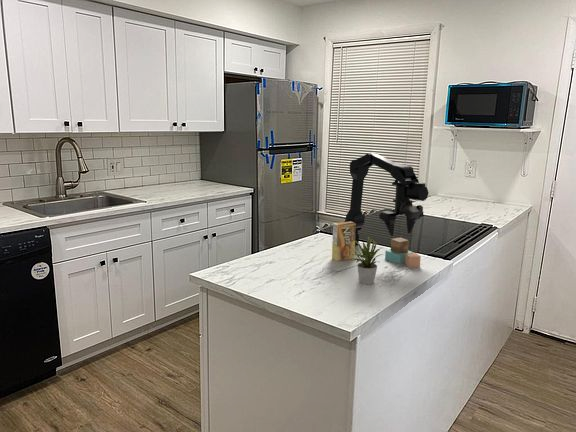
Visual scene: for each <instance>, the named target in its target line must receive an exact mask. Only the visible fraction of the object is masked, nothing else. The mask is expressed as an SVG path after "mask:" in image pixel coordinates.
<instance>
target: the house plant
mask: <svg viewBox="0 0 576 432" xmlns="http://www.w3.org/2000/svg"><path fill="white" fill-rule="evenodd" d="M352 240H353V239H352ZM354 241H355V240H354ZM355 242H356V243H357V244H358V245H355V247H354V248H355V250H357V251H358V253H357V252H356V251H355V252H354V251H353V252H354V254H352V255H354V256H356V257H354V258H353V259H352V262H354V261H356V264H357V273H358V281H359V283H360V284H363V285H372V284H375V278H376V274H377V269H378V265H377V264H376V263H380V261H379V260H378V261H376V260H377V259H376V258H377V257H380V256H384V253H382V254H377V253H378V251H380V249H382V248H383V246H381V247H380V248H377V242H375V240H373V238H371V239H370V236H368V237H367V241H366V244H365V242H364V241H363V242H362V246H361V244H360V242H359V243H358V242H357V241H355ZM371 244H372V245H371ZM352 246H353V245H352ZM357 246H358V247H357ZM376 248H377V249H376ZM375 249H376V250H375ZM376 254H377V255H376ZM352 255H351V256H352ZM352 257H353V256H352Z"/></svg>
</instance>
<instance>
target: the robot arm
mask: <svg viewBox="0 0 576 432" xmlns="http://www.w3.org/2000/svg"><path fill="white" fill-rule="evenodd" d="M372 166H376V167H378V168H380V169H382V170H384V171H385V172H388V173H389V174H390V176H391V177H392V178H393V179H394V181H393V182H392V183H391V186H395V195H394V196H395V198H393V199H392V202H393V203H394V208H392V211H389V210H386V211H381V212H380V213H379V219H380V220H381V221H382V222H384V224H385V226H386V228H387V231H388V232H389V235H390V237H393V236H394V234H395V233H394V232H395V224H396V223H397V221H396V219H397V218H400V217H405V218H406V228H407V229H406V231H407V234H412V231H413V229H414V226H415V224H416V222H417V221H419V220H420V219H422V218H423V217H424V206H423V205H422V204H419V205H413V200H415V201H420V202H424V201H426V200H427V199H428V197H429V193H430V192H429V190H428V188H427V186H426V183H424V182H420V181H419V179H418V177H417V176H416V174H415V171H414V168H413V167H412V166H411V165H407V164H401V163H396V162H394V161H393V160H390V159H388V158H387V157H385V156H382V155H380V154H379V153H378V152H368V153H366V154H365V155H363V156H360V157H358V158H356V159H352V160H351V161H350V163H349V173H350V176H351V178H352V183H351V193H350V202H349V203H350V204H349V205H350V206H349V210H348V212H347V213H346V215H345V219H344V222H350V221H351V222H354V223H356V231H355V241H357V242H358V243H359V244H360V233H359V231H362V228H363V226H364V224H365V223H366V221H365V220H366V219H365V217H366V215H365V214H363V212H362V203H363V194H364V193H363V192H364V181H365V179H366V177H367V175H368V174H369V171H370V168H371V167H372ZM355 246H358V244H357V243H356V242H355Z"/></svg>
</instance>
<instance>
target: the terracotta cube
mask: <svg viewBox="0 0 576 432" xmlns="http://www.w3.org/2000/svg"><path fill="white" fill-rule="evenodd" d="M404 265H405V266H407V267H408V268H420V267H421V255H420V254H418V253H417V252H413V253H405V263H404Z"/></svg>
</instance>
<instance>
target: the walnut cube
mask: <svg viewBox="0 0 576 432" xmlns="http://www.w3.org/2000/svg"><path fill="white" fill-rule="evenodd" d="M409 242H410V240H408V239H406V238H403V237H395V238H391V240H390V249H391V251H393V252H396V253H398V254H400V253H406V252H408V251H409Z"/></svg>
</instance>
